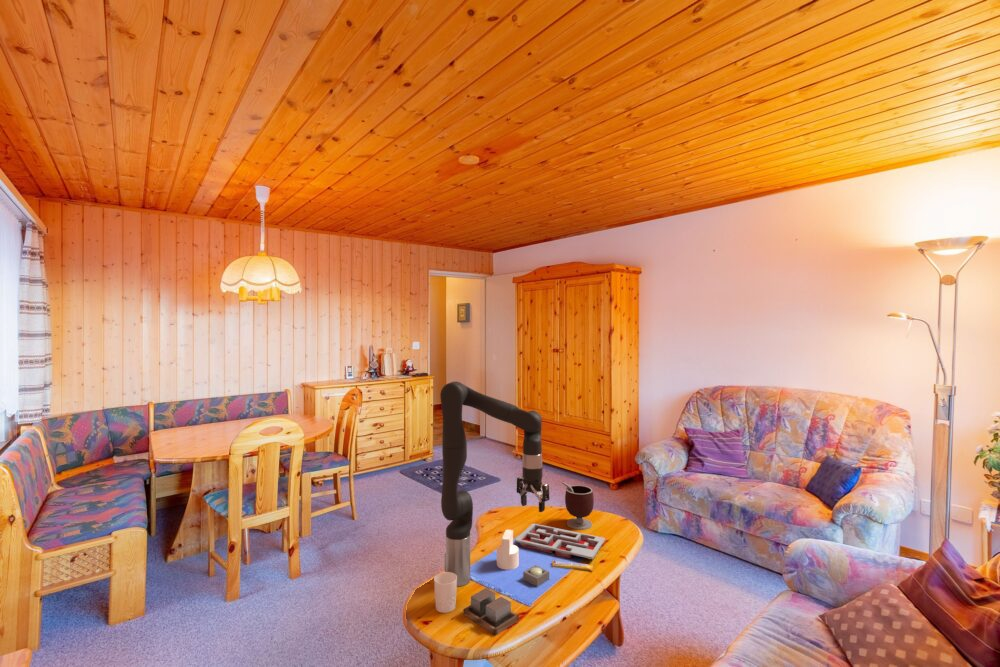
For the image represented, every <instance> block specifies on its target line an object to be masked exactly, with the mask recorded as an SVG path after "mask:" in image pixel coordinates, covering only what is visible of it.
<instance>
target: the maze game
mask: <svg viewBox="0 0 1000 667" xmlns="http://www.w3.org/2000/svg"><path fill="white" fill-rule="evenodd" d="M605 541H606V538H605V537H603V536H597V535H592V534H587V533H582V532H577V531H572V530H567V529H562V528H557V527H552V526H549V525H543V524H537V523H531V524H530V525H529V526H528V527H527V528H526V529H525V530H523V532H521V534H520V535H518V536H517V537H516V538H515V539H514V542H516V543H519V544H520V545H519V546H520V547H524V548H527V549H533V550H537V551H541V552H545V553H549V554H552V553H553V552H554V555H556V556H559V557H563V558H568V559H571V558H572V557H573V556H577V557H580V558H581V557H582V558H586V559H589V560H593V559H594V558H595V556H596V555H597V553H598V552H599V550H600V549H601V547H602V546H603V545H604V542H605Z"/></svg>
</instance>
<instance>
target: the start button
mask: <svg viewBox="0 0 1000 667" xmlns="http://www.w3.org/2000/svg"><path fill="white" fill-rule="evenodd" d="M540 568H541V567H540ZM540 568H537V567H534V568H532V569H531V570H530V573H531V574H533V575H535V576H539V575H541V574H542V569H540Z"/></svg>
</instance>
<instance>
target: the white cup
mask: <svg viewBox="0 0 1000 667" xmlns="http://www.w3.org/2000/svg"><path fill="white" fill-rule="evenodd" d="M433 583H434V584H433V585H434V601H435V609H436V611H437V612H439V613H443V614H447V613H450V612H452V611H454V610H455V609H456V604H457V603H456V601H457V589H458V586H457V576H456V574H454V573H451V572H445V571H443V572H440V573H437V574H436V575H435V576H434V577H433Z"/></svg>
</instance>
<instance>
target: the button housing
mask: <svg viewBox="0 0 1000 667" xmlns="http://www.w3.org/2000/svg"><path fill="white" fill-rule="evenodd" d="M534 567H537V568H540V569H542V574H541V575H539V576H535V575H533V574H531V573H530V570H531V569H532V568H534ZM522 576H523V577H522V578H523V580H522V581H525V582H527V583H529V584H531V585H532V586H535V587H536V588H538V587H540V586H541V585H543V584H545V583H546V582H548V581H549V580H550V571H549V570H547V569H544V567H543V568H542V567H541V566H538V565H533V566H531V567H530V568H528V569H526V570H523V572H522Z"/></svg>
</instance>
